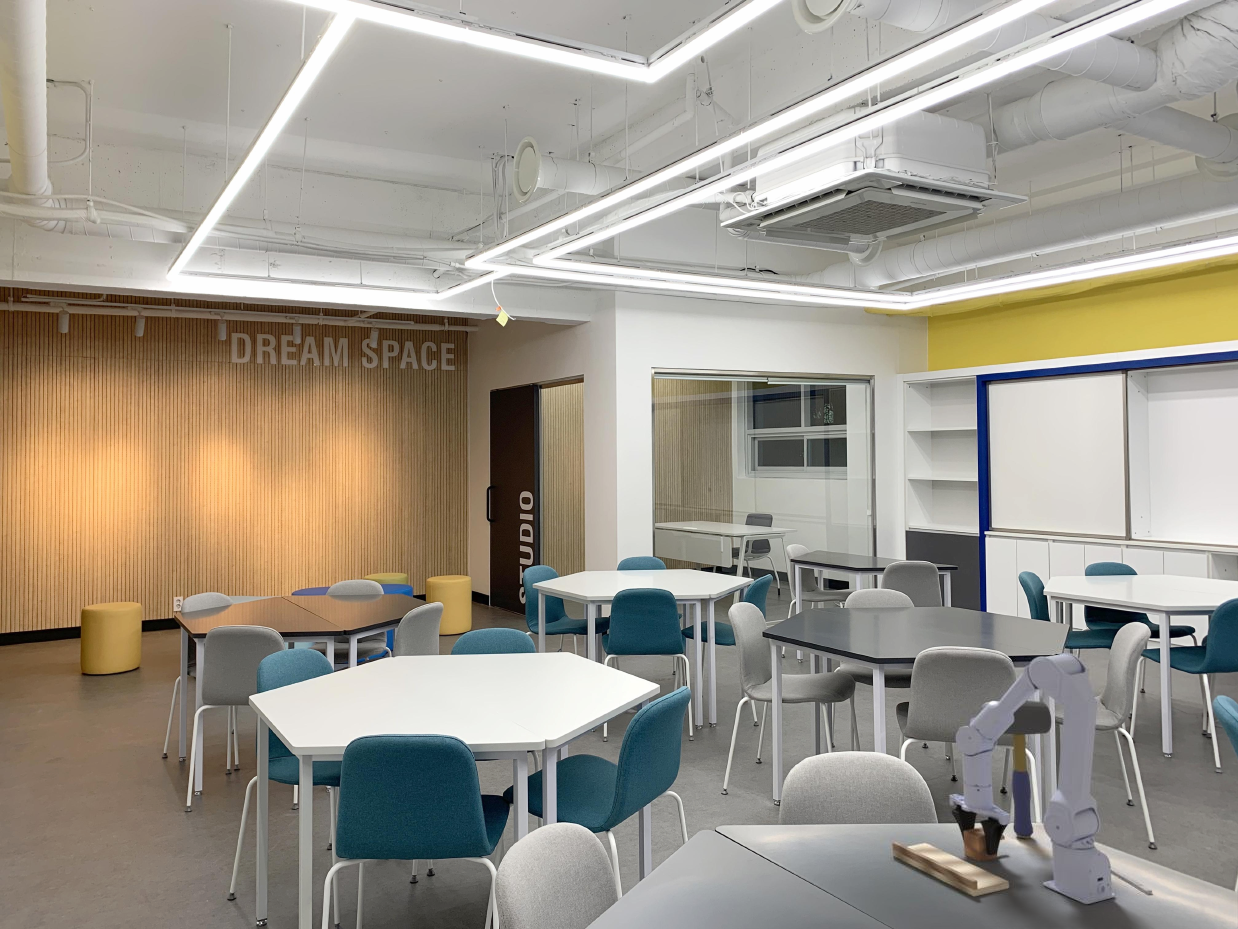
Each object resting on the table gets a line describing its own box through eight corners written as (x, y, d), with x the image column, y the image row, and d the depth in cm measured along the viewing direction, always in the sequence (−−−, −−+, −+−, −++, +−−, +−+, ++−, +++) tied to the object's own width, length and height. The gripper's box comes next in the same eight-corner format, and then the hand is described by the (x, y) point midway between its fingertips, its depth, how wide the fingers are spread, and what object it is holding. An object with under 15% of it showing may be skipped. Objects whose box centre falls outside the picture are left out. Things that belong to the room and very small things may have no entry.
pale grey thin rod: (1102, 869, 172) (1101, 864, 172) (1107, 869, 172) (1106, 864, 172) (1146, 896, 160) (1146, 890, 160) (1152, 895, 160) (1151, 890, 160)
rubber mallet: (1001, 842, 186) (995, 703, 188) (988, 830, 194) (983, 697, 196) (1059, 843, 185) (1053, 704, 187) (1045, 831, 193) (1039, 697, 195)
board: (1009, 888, 163) (1008, 873, 163) (973, 896, 160) (973, 881, 160) (925, 848, 183) (925, 835, 183) (892, 855, 180) (892, 842, 180)
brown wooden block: (1011, 854, 180) (1010, 830, 180) (979, 861, 176) (978, 837, 176) (995, 848, 183) (995, 824, 184) (964, 855, 180) (963, 830, 180)
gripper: (937, 776, 185) (940, 840, 184) (991, 795, 172) (994, 864, 171) (962, 772, 188) (964, 835, 187) (1016, 790, 175) (1019, 858, 174)
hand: (980, 849), depth 179 cm, fingers open, 6 cm apart
